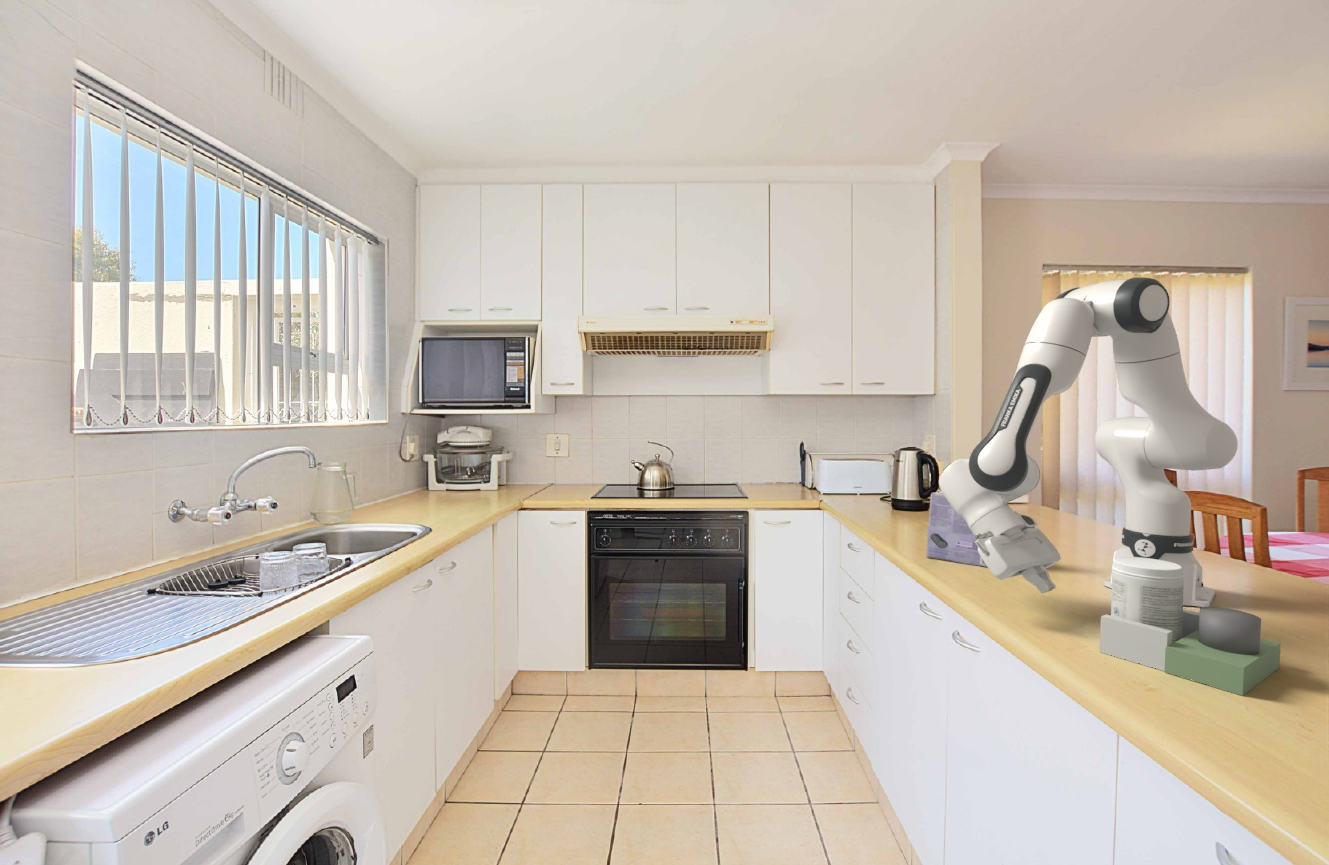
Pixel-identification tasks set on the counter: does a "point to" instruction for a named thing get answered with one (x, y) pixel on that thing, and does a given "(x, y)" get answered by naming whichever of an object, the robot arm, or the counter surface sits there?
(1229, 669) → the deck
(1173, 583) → the supplement tub
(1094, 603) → the counter surface
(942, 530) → the cake pan box
